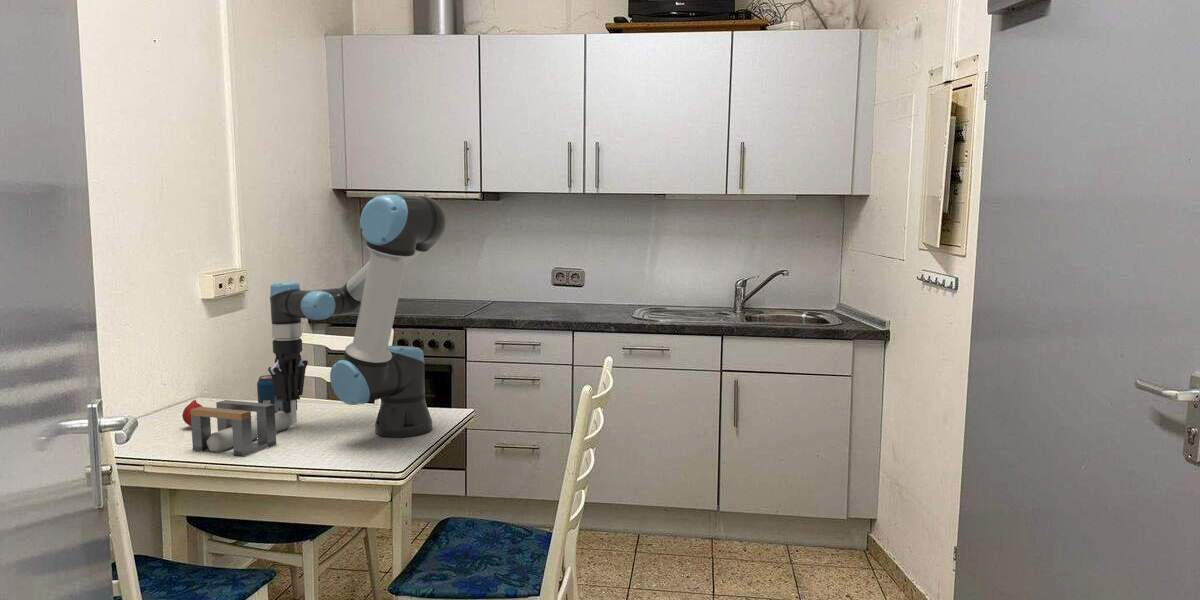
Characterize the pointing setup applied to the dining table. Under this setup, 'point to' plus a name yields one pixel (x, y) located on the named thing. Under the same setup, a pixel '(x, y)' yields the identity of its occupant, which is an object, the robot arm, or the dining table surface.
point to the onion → (189, 412)
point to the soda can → (268, 393)
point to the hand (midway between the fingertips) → (291, 423)
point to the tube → (225, 437)
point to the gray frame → (235, 425)
